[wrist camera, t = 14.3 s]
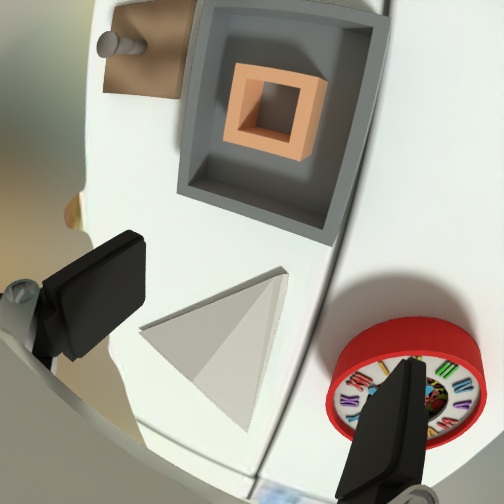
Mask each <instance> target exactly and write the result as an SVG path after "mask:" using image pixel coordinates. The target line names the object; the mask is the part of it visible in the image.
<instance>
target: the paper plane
mask: <svg viewBox="0 0 504 504" xmlns="http://www.w3.org/2000/svg"><path fill="white" fill-rule="evenodd" d="M288 277H289V274H281V275H278V276H275V277H272V278H270V279H268V280H265V281H263V282H261V283H258V284H256V285H254V286H251V287H249V288H247V289H244V290H242V291H239V292H237V293H235V294H232V295H230V296H227V297H225V298H223V299H220V300H218V301H215V302H213V303H211V304H208V305H206V306H203V307H201V308H198V309H196V310H193V311H191V312H189V313H186V314H183V315H181V316H178V317H176V318H173V319H171V320H168V321H166V322H163V323H161V324H158V325H156V326H153V327H151V328H148V329H146V330H143V331H141V332H138V333H139V334H140V335H141V336H142V337H143V338H144V339H145V340H146V341H148V342H149V343H150V344H151V345H152V346H153V347H154V348H155V349H156V350H157V351H158V352H159V353H160V354H161V355H162V356H163V357H164V358H165V359H166V360H167V361H168V362H170V363H171V364H172V365H173V366H174V367H175V368H176V369H177V370H178V371H179V372H180V373H182V374H183V375H184V376H185V377H186V378H187V379H188V380H189V381H191V382H192V383H193V384H194V385H195V386H196V387H197V388H198V389H199V390H200V391H201V392H202V393H203V394H204V395H205V396H206V397H207V398H208V399H210V400H211V401H212V402H213V403H214V404H215V405H216V406H217V407H218V408H219V409H220V410H222V411H223V412H224V413H225V414H226V415H227V416H228V417H229V418H231V419H232V420H233V421H234V422H235V423H236V424H237V425H239V426H240V427H241V428H242V429H243V430H244V431H246V432H247V433H248V430H249V426H250V423H251V420H252V416H253V413H254V410H255V406H256V403H257V399H258V396H259V392H260V389H261V385H262V382H263V378H264V375H265V371H266V367H267V364H268V360H269V357H270V353H271V349H272V346H273V342H274V338H275V334H276V331H277V327H278V323H279V319H280V315H281V311H282V308H283V304H284V300H285V296H286V292H287V286H288Z"/></svg>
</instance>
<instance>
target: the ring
mask: <svg viewBox="0 0 504 504" xmlns="http://www.w3.org/2000/svg"><path fill="white" fill-rule="evenodd" d="M264 81H267V82H272V83H277V84H282V85H287V86H292V87H297V88H301V89H300V94H299V99H298V104H297V108H296V113H295V118H294V122H293V127H292V132H291V136H290V135H286V134H283V133H279V132H275V131H271V130H267V129H262V128H258V127H256V123H257V117H258V112H259V107H260V101H261V96H262V91H263V86H264ZM327 84H328V81H325V80H323V79H321V78H319V77H315V76H310V75H306V74H301V73H296V72H291V71H286V70H280V69H274V68H268V67H262V66H255V65H248V64H241V63H236V65H235V71H234V76H233V82H232V88H231V93H230V99H229V105H228V111H227V117H226V123H225V129H224V136H223V141H226V142H230V143H234V144H238V145H242V146H246V147H250V148H254V149H258V150H261V151H265V152H269V153H272V154H276V155H280V156H283V157H287V158H290V159H293V160H297V161H301V160H303V159H305V158H306V157H308V156H310V155H311V154H312V150H313V145H314V141H315V137H316V133H317V128H318V124H319V120H320V115H321V111H322V107H323V102H324V98H325V93H326V89H327Z"/></svg>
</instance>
